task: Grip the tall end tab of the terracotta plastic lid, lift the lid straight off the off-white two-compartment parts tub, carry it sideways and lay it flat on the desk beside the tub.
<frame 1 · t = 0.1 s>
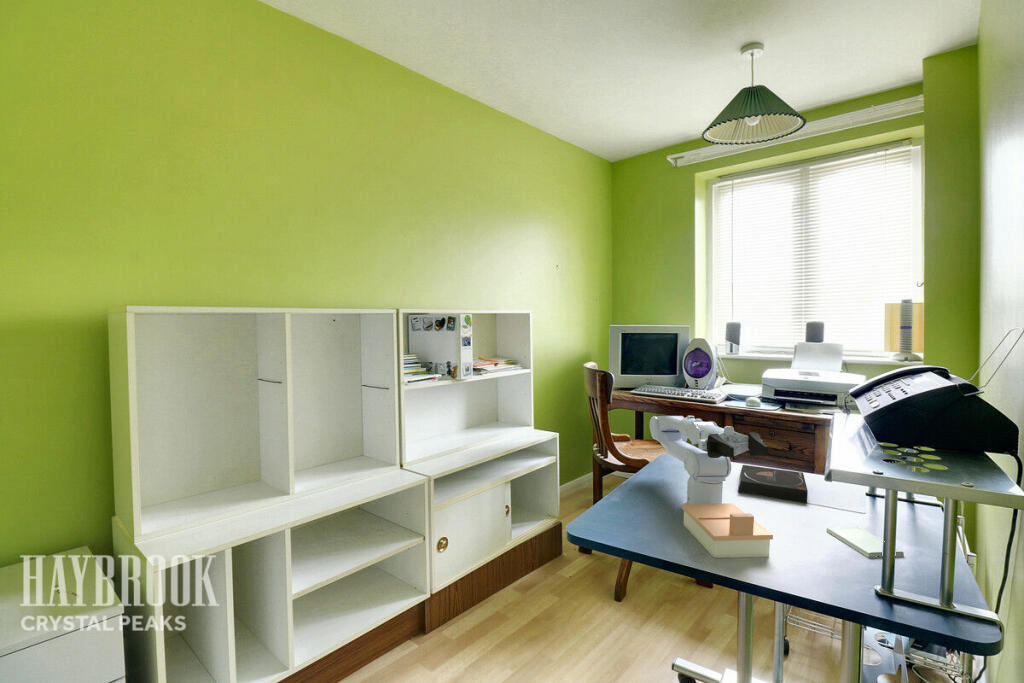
hand: (749, 451, 107), 22 cm above the table, fingers open, 7 cm apart
lid: (724, 522, 113), point 4 cm above the table, touching tub
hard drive: (862, 546, 112), on the table
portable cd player: (771, 490, 146), on the table
tub: (723, 539, 113), on the table
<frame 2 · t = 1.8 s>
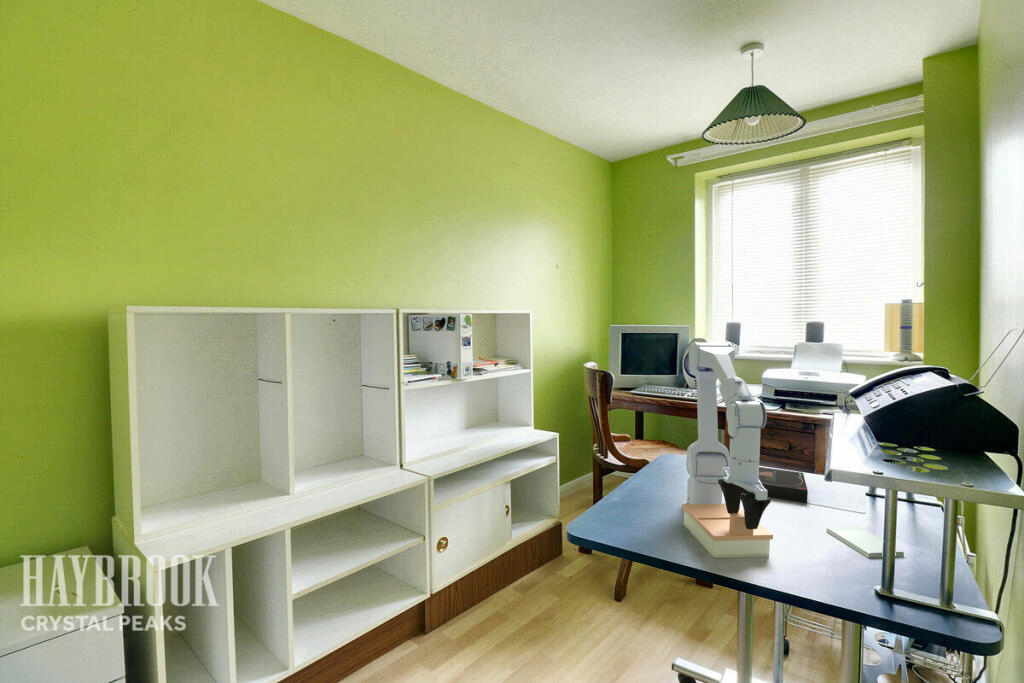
hand: (741, 520, 105), 8 cm above the table, fingers open, 7 cm apart
nothing on the table moved.
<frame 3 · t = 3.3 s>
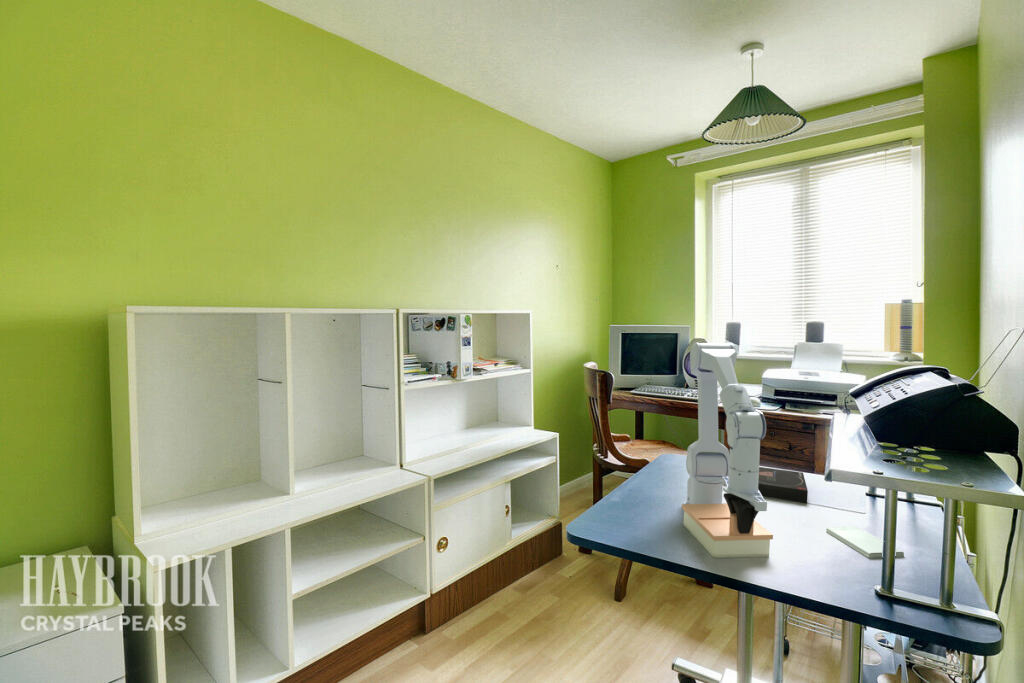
hand: (741, 530, 105), 6 cm above the table, fingers closed on lid
lid: (724, 522, 113), point 4 cm above the table, touching gripper, tub
everything else where it was.
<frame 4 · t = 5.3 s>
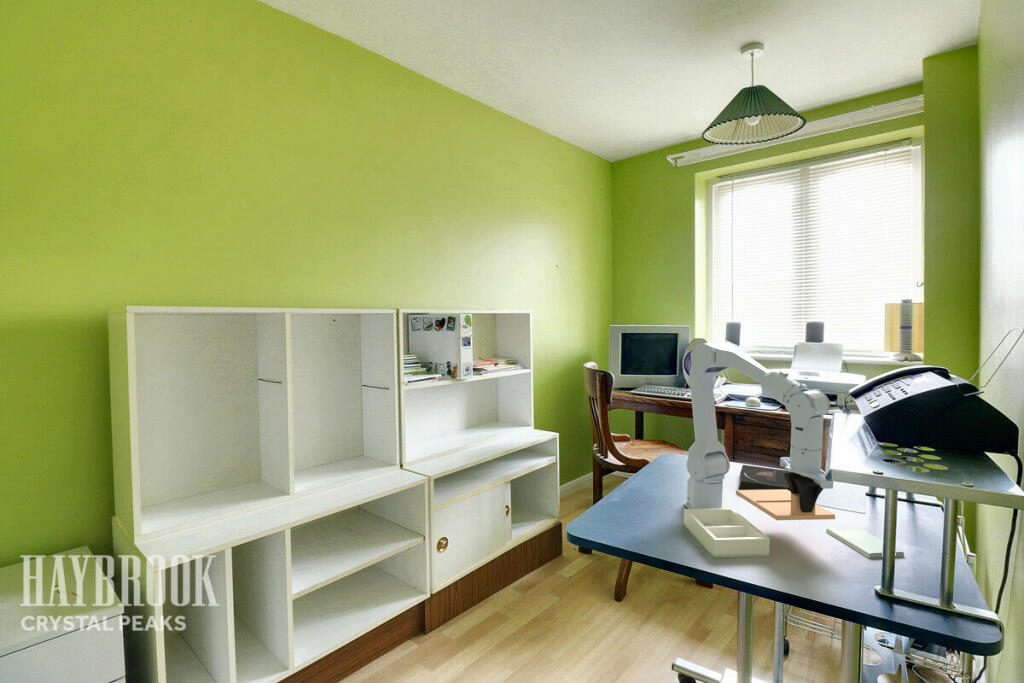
hand: (803, 509, 106), 10 cm above the table, fingers closed on lid
lid: (781, 505, 113), point 8 cm above the table, touching gripper
everything else where it was.
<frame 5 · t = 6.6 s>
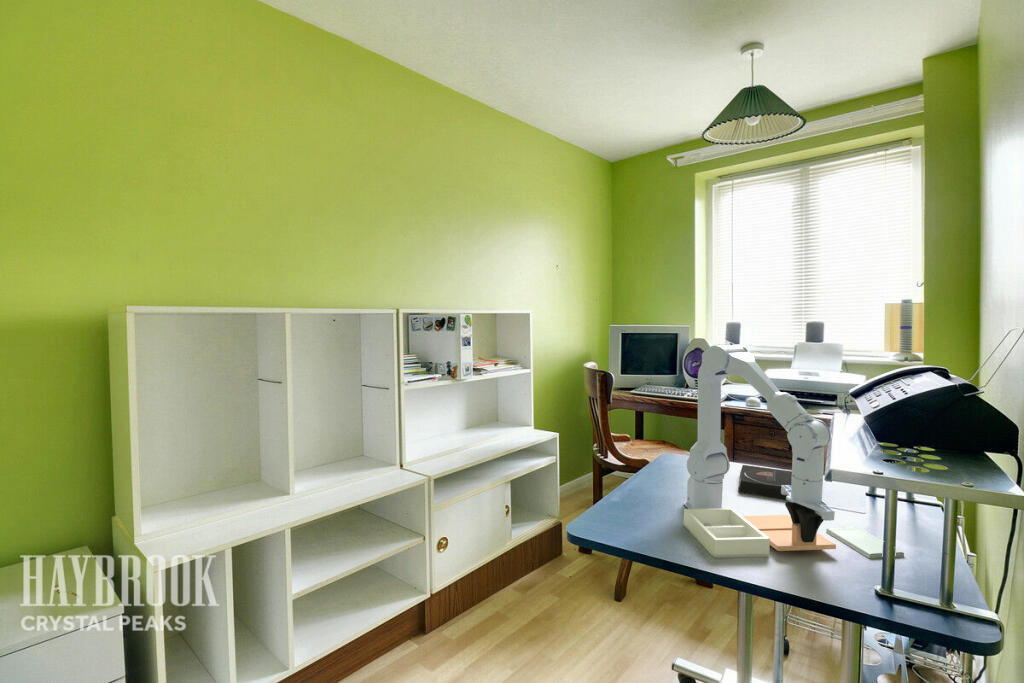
hand: (804, 539, 106), 3 cm above the table, fingers closed on lid
lid: (782, 533, 113), point 1 cm above the table, touching gripper
everything else where it was.
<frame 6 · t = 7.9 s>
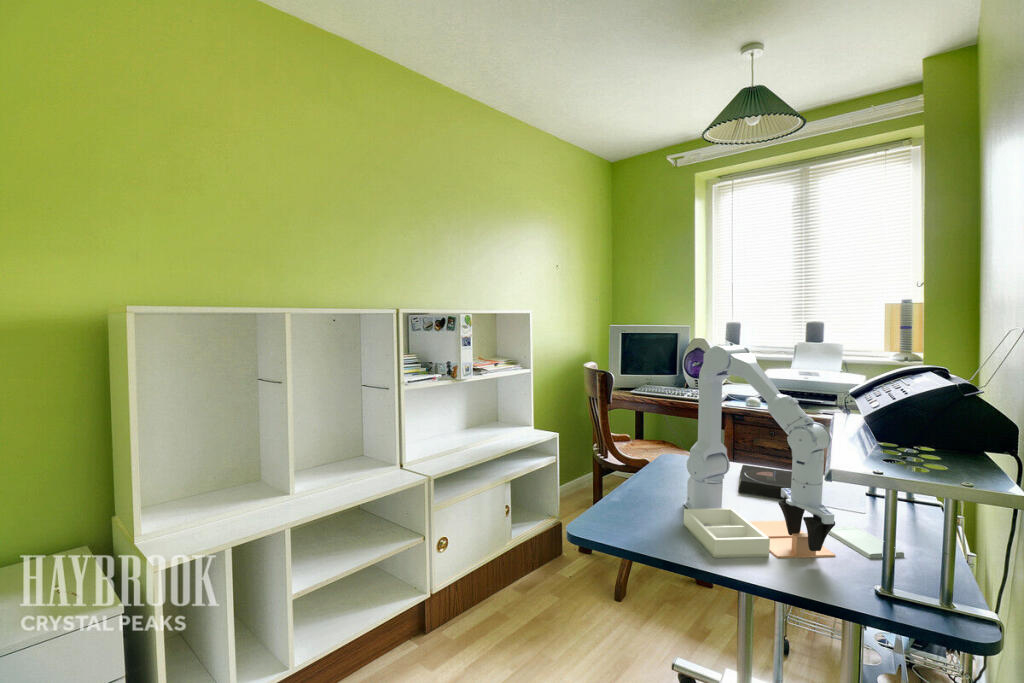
hand: (803, 542, 106), 3 cm above the table, fingers open, 6 cm apart
lid: (782, 541, 114), on the table
everything else where it was.
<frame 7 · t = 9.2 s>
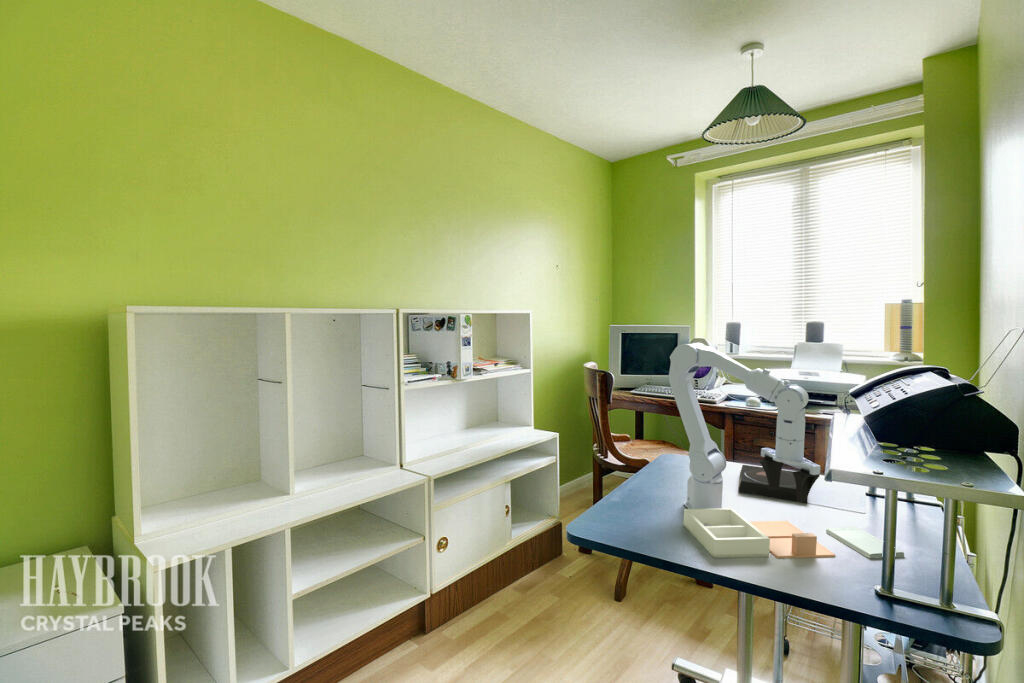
hand: (787, 495, 115), 9 cm above the table, fingers open, 7 cm apart
nothing on the table moved.
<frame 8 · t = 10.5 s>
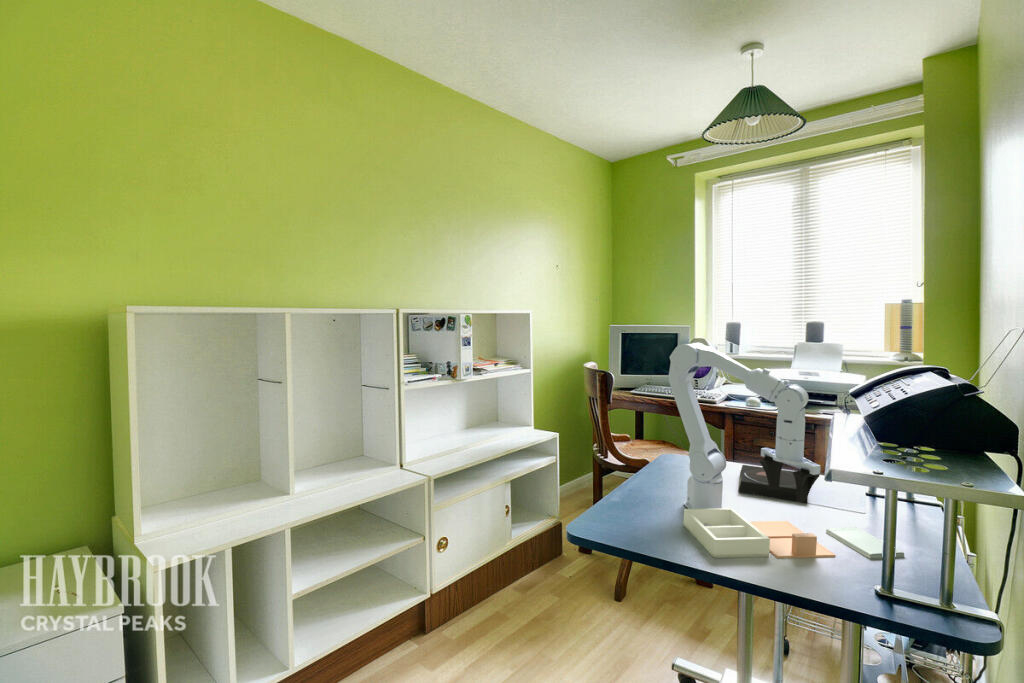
hand: (787, 495, 115), 9 cm above the table, fingers open, 7 cm apart
nothing on the table moved.
at the end: lid inside the target area (0.2 cm from its centre), on the table; lid tilted 0°; the gripper is holding nothing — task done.
